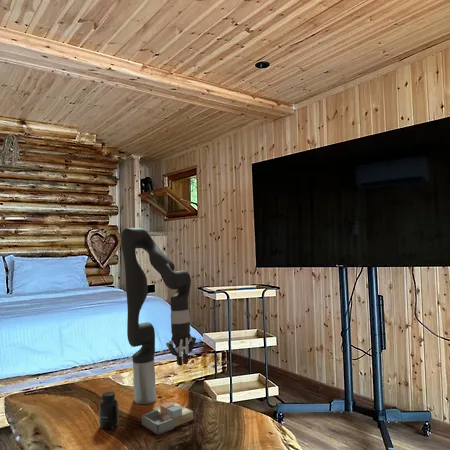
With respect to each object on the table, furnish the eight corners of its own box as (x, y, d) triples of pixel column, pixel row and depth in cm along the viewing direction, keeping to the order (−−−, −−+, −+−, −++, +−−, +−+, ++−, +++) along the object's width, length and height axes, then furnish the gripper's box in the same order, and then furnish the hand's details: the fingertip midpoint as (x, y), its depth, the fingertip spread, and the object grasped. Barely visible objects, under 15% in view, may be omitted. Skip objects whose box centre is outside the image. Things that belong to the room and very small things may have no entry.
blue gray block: (167, 415, 156) (166, 408, 156) (176, 412, 159) (175, 405, 159) (173, 418, 153) (172, 411, 153) (182, 414, 156) (181, 408, 156)
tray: (141, 424, 156) (141, 415, 157) (157, 418, 161) (157, 409, 161) (157, 434, 147) (157, 424, 147) (174, 428, 152) (173, 418, 152)
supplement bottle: (99, 431, 153) (98, 398, 153) (100, 423, 160) (98, 392, 160) (118, 427, 155) (117, 395, 155) (118, 420, 161) (117, 389, 162)
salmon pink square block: (160, 411, 160) (160, 405, 160) (169, 408, 163) (168, 401, 163) (165, 414, 157) (165, 407, 157) (174, 411, 160) (174, 404, 160)
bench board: (153, 416, 164) (152, 408, 164) (172, 408, 169) (172, 401, 170) (173, 427, 152) (172, 419, 153) (193, 419, 158) (193, 411, 158)
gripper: (189, 317, 174) (191, 359, 173) (160, 322, 165) (162, 366, 164) (199, 319, 168) (202, 362, 167) (170, 325, 159) (173, 370, 158)
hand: (182, 364), depth 166 cm, fingers closed
